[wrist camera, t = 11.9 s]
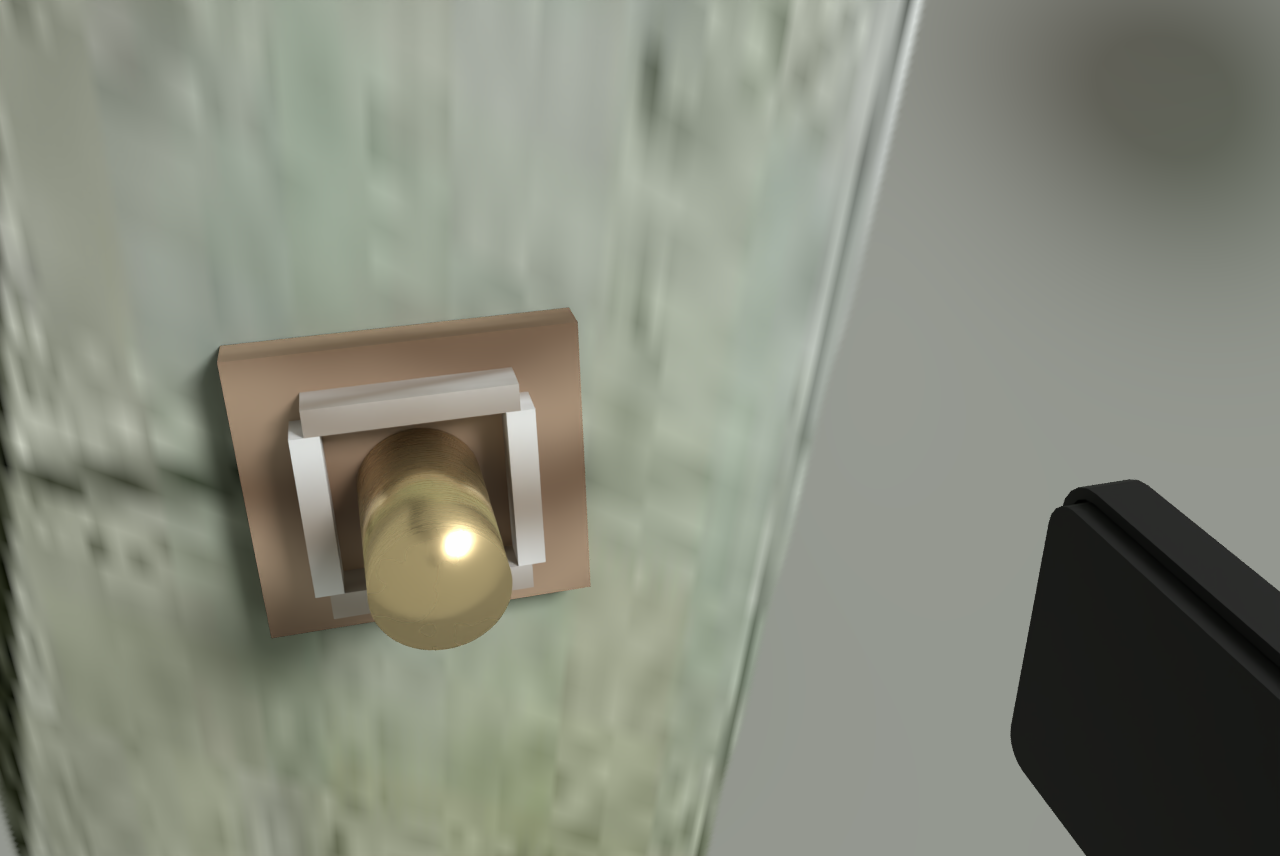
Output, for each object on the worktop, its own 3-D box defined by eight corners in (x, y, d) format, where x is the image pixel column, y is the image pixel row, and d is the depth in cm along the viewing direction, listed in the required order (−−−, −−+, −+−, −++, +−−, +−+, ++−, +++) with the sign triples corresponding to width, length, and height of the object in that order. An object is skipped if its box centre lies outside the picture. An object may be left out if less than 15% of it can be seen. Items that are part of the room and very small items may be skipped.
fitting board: (220, 345, 39) (214, 380, 37) (569, 307, 42) (586, 337, 39) (272, 615, 44) (270, 662, 42) (582, 566, 47) (598, 607, 44)
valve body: (349, 436, 40) (359, 539, 34) (476, 420, 41) (507, 518, 35) (364, 544, 42) (375, 660, 36) (485, 526, 43) (516, 637, 37)
